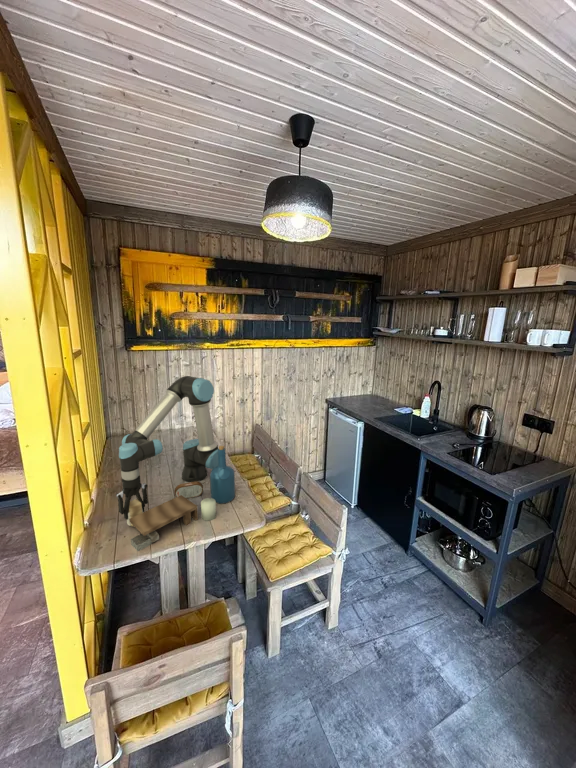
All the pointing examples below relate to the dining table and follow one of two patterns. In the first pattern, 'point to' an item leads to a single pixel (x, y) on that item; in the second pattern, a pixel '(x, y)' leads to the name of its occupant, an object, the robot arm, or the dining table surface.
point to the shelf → (165, 515)
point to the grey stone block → (140, 542)
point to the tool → (136, 509)
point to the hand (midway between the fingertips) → (135, 521)
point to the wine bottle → (222, 480)
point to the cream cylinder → (208, 509)
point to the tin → (189, 489)
